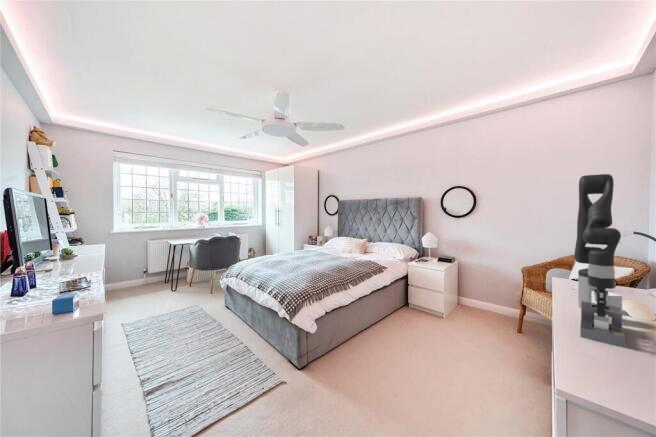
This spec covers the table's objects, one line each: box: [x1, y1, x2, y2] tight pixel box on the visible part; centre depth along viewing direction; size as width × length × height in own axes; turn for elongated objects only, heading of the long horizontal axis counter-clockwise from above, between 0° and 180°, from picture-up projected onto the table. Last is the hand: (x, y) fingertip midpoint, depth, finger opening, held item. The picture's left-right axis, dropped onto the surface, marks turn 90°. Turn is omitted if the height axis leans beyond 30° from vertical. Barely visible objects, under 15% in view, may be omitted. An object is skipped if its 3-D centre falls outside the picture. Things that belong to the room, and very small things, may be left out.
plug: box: [594, 313, 612, 330], centre depth 103 cm, size 3×5×8 cm, turn 43°
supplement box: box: [591, 291, 623, 314], centre depth 119 cm, size 7×7×13 cm
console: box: [579, 301, 626, 348], centre depth 107 cm, size 24×12×9 cm, turn 133°
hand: (601, 313), depth 103 cm, fingers open, 8 cm apart
